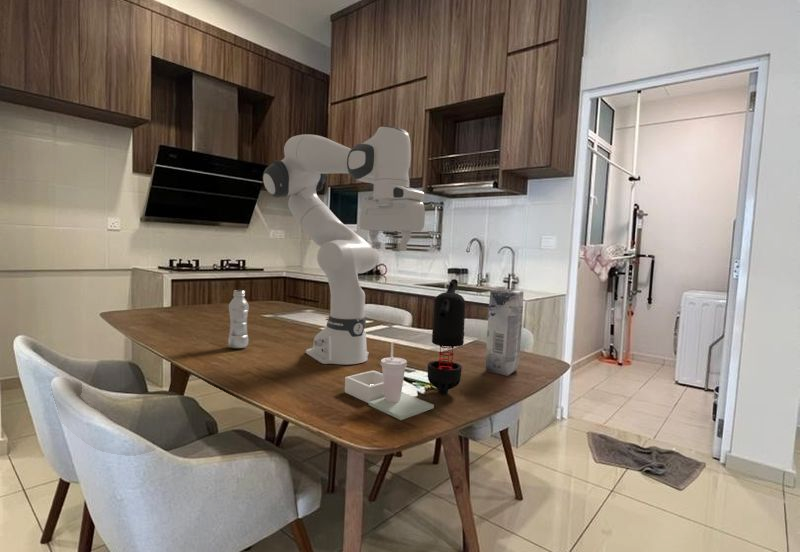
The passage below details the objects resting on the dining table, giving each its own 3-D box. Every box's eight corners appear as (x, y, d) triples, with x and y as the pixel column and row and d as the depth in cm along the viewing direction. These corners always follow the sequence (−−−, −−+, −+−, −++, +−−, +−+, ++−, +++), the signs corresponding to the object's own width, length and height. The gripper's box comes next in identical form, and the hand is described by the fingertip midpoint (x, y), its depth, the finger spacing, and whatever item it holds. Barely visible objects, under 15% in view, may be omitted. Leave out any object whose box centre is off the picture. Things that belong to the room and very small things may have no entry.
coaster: (368, 405, 101) (368, 401, 101) (401, 394, 108) (401, 391, 108) (401, 420, 93) (401, 416, 93) (433, 408, 101) (433, 404, 101)
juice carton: (520, 370, 136) (526, 286, 134) (509, 378, 127) (516, 288, 125) (494, 364, 141) (499, 284, 138) (482, 371, 132) (487, 286, 130)
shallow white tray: (344, 392, 109) (345, 376, 108) (372, 384, 115) (373, 370, 115) (368, 403, 102) (369, 387, 101) (397, 394, 108) (398, 379, 108)
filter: (431, 384, 118) (437, 277, 116) (464, 389, 115) (470, 280, 113) (418, 400, 105) (424, 280, 103) (454, 406, 102) (461, 283, 100)
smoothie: (387, 393, 107) (388, 338, 106) (410, 397, 104) (412, 342, 103) (374, 401, 101) (376, 343, 100) (398, 406, 98) (400, 347, 97)
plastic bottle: (252, 347, 147) (253, 290, 146) (235, 351, 141) (236, 292, 140) (240, 344, 151) (241, 289, 149) (223, 348, 145) (224, 290, 143)
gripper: (354, 194, 110) (352, 247, 111) (411, 189, 95) (408, 251, 96) (373, 197, 114) (370, 248, 115) (430, 193, 100) (427, 251, 101)
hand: (388, 249), depth 106 cm, fingers open, 8 cm apart
